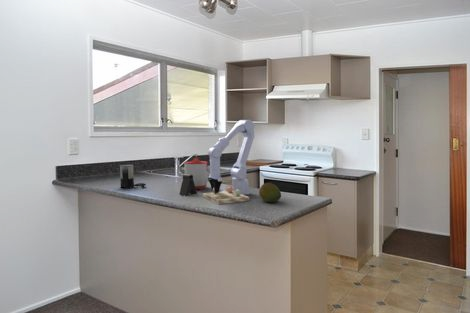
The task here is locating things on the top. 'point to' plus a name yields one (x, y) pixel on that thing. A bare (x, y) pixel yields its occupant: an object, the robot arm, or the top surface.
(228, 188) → the terracotta ball
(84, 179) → the top surface
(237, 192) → the sage ball
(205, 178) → the citrus juicer
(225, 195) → the birch plate
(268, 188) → the fruit
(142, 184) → the milk frother
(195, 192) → the door stopper
